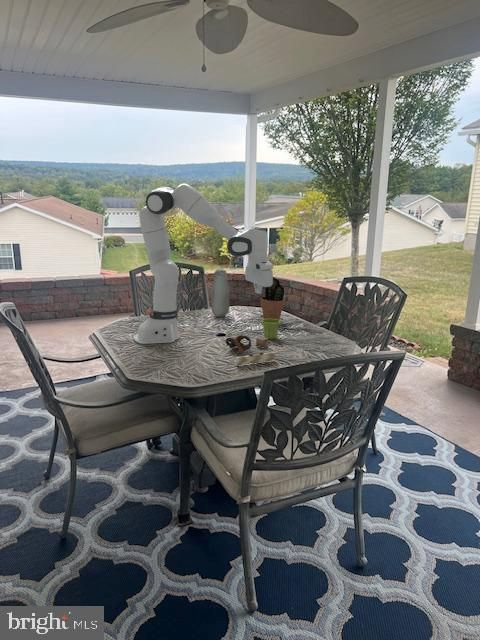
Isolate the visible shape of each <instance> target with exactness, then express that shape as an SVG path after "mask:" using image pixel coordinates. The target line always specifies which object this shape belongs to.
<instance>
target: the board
mask: <svg viewBox="0 0 480 640" xmlns="http://www.w3.org/2000/svg"><path fill="white" fill-rule="evenodd" d="M270 360H275V361H276V352H275V351H271V352H270V351H269V352H265V353H264V352H262V351H259V352H258V353H257V354H254V353H248V355H243V356H236V358H235V365H236V364H237V365H241V364H249V363H257V362H263V361H270Z"/></svg>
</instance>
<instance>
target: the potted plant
mask: <svg viewBox="0 0 480 640" xmlns="http://www.w3.org/2000/svg"><path fill="white" fill-rule="evenodd" d="M264 291H265V293H264V296H262V297H260V308H261V310H262V317H263V319H277V320H280V319H281V314H282V312H283V308H284V307H285V306H284V305H285V298H284V295H285V288H284V287H283V285H282V284H280V280H278V279H277V278H276V277H274V276H273V284H272V286H271V287H265V290H264ZM280 321H281V320H280Z"/></svg>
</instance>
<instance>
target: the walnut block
mask: <svg viewBox="0 0 480 640" xmlns="http://www.w3.org/2000/svg"><path fill="white" fill-rule="evenodd" d="M257 346H260V347H264V348H266V347H265V346H267V347H268V346H269V339H268V338H265V337H264V336H260V337H256V338H255V347H257ZM260 347H259V348H260Z"/></svg>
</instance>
